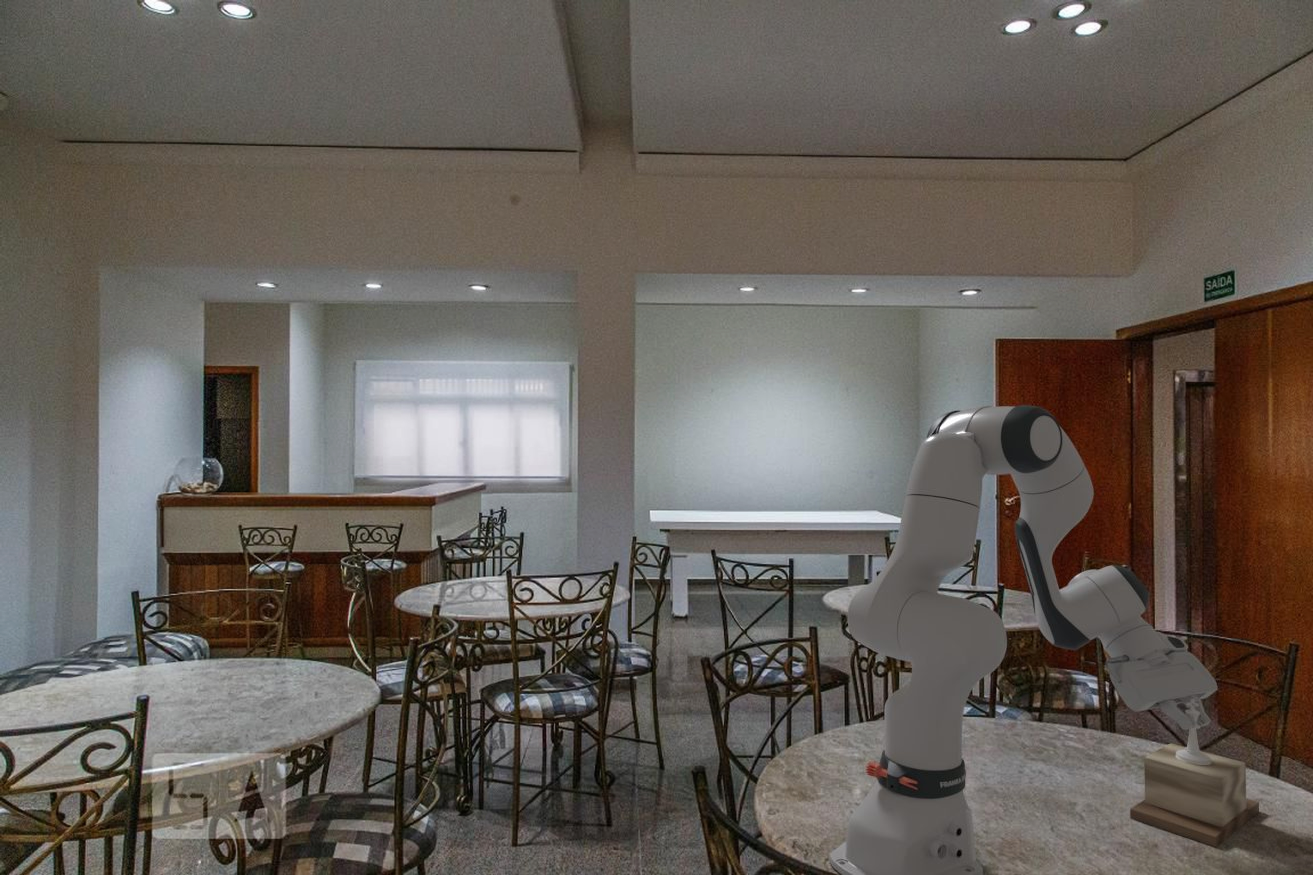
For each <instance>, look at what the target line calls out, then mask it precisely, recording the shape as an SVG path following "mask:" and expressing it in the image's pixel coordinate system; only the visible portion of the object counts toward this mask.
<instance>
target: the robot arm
mask: <svg viewBox="0 0 1313 875" xmlns="http://www.w3.org/2000/svg"><path fill="white" fill-rule="evenodd" d="M985 475H989V476H996V475H997V476H999V475H1000V476H1001V475H1010V476H1011V478H1012V480H1013V482H1014V485H1015V487H1016V489H1017V491H1018V493H1019V497H1020V498H1019V499H1020V512H1019V516H1018V518H1016V519H1017V520H1016V521H1015V522H1014V534H1015V539H1016V543H1017V545H1016V546H1017V548H1018V552H1019V556H1020V560H1021V564H1022V566H1023V569H1024V573H1025V577H1026V581H1027V585H1028V587H1029V591H1030V596H1031V599H1032V606H1033V608H1032V609H1033V613H1034V616H1035V621H1036V623H1037V627H1038V629H1039V631H1040V632H1041V634H1042V635H1043V636H1044V638H1045V639H1046V640H1047V641H1048V642H1049V644H1051V645H1052V646H1054V647H1057V648H1061V649H1064V650H1070V651H1071V650H1072V651H1077V650H1079V649H1080V648H1082V647H1083V646H1085V645H1087V644H1089V643H1090V642H1091V641H1092V640H1094V639H1096V638H1098V639H1099V640H1100V642H1101V644H1102V646H1103V649H1104V651H1105V652H1106V653H1107V655H1108V656H1109V657H1108V658H1106V660H1105V666H1104V668H1105V669H1106V672H1108V674H1109V678H1110V679H1109V680H1110V681H1111V682H1112V685H1113V686H1114V689H1115V690H1116V692H1117V693H1118V695H1119V696H1120V698H1121V699H1122V701H1123V703H1124V704H1125V705H1126V707H1128V708H1129V709H1130V710H1132V712H1136V713H1137V712H1141V711H1148V710H1153V709H1157V708H1160V710H1161V712H1163V714H1165V715H1166V716H1168V717H1169V718H1170V719H1172V720H1173V721H1175V722H1177V724H1178V725H1179V726H1180V728H1181V729H1182V730H1184V731H1187V730H1188V731H1189V729H1191V728H1193V727H1194V726H1196V723H1197V724H1198V725H1200V727H1205V726H1208V725H1209V724H1210V723H1211V721H1212V720H1211V718H1210V717H1209V716H1208V714H1207V713H1206V711H1205V708H1204V705H1203V701H1202V700H1204V699H1207V698H1208V697H1210V696H1211V695H1212V694H1214V693H1216V692H1217V691H1218V685H1217V684H1218V683H1217V681H1216V679H1215V678H1214V677H1213V676H1212V674H1211V673H1210V671H1209V670H1208V669H1207V668H1206V667H1205V665H1204V664H1203V663H1202V662H1201V661H1200V660H1199V659H1198V657H1196V655H1194V654H1193V653H1191V652H1190V651H1188V649H1189V646H1188V644H1187V643H1186V641H1185V640H1184V639H1182V638H1181V637H1176V636H1171V635H1168V634H1165V633H1163V632H1160V631H1156V630H1155V628H1154V627H1153V626H1152V625H1151V624H1150V623H1149V622H1147V621H1146V620H1145V619H1143V617H1142V614H1144V613H1146V611H1147V609H1148V605H1149V604H1150V603H1149V602H1150V597H1151V594H1150V591H1149V590H1148V589H1147V587H1146V586H1145V584H1144V583H1143V582H1142V581H1141V580H1140V579H1139V577H1137V575H1136V574H1135V573H1134V572H1133V571H1132V570H1131V569H1129V568H1127V567H1124V566H1120V565H1116V564H1111V565H1108V566H1104V567H1102V568H1100V569H1088V570H1084V571H1082V572H1080V573H1078V574H1076V575H1075V576H1074V577H1073V578H1071V580H1070V581H1069V582H1068V584H1067V585H1066V586H1064V587H1062V588H1059V584H1058V581H1057V577H1056V573H1055V569H1054V567H1053V566H1054V565H1053V562H1052V561H1053V555H1054V552H1055V550H1056V548H1057V547H1058V545H1059V544H1060V543H1061V541H1063V539H1064V538H1065V537H1066V536H1067V534H1068V533H1069V532H1070V531H1071V530H1072V529H1074V527H1076V526H1077V525H1078V524H1079V523H1080V522H1081V521H1082V520H1083V519H1084V518H1085V516H1086V514H1087V513H1088V512H1089V510H1090V508H1091V505H1092V502H1093V499H1094V494H1095V493H1094V485H1093V483H1092V479H1091V476H1090V474H1089V471H1088V469H1087V467H1086V466H1085V463H1084V461H1083V459H1082V457H1081V456H1080V454H1079V451H1078V450H1077V449H1076V447H1075V445H1074V444H1073V442H1072V441H1071V439H1070V437H1069V436H1068V435H1067V433H1066V432H1065V431H1064V430H1063V428H1062V427H1061V426H1060V424H1059V422H1058V420H1057V419H1056V417H1054V415H1052V413H1050V411H1048V410H1047V409H1045V408H1042V407H1040V406H1036V405H1029V404H1020V405H1016V406H1007V405H1005V406H1004V405H1003V406H990V405H986V406H979V407H978V406H977V407H973V408H967V409H963V410H960V409H959V410H958V409H957V410H952V411H950V412H947V413H944V414H942V415H940V416H938V417H937V418H936V419H935V420H934V421H933V422H932V423H931V425H930V427H929V429H928V431H927V435H926V438H925V439H924V440H923V441H922V443H921V444H920V446H919V448H918V451H917V454H916V455H915V459H914V462H913V465H912V468H911V470H910V474H909V479H908V482H907V487H906V492H905V496H904V504H903V509H902V514H901V518H900V524H899V528H898V533H897V537H896V542H895V544H894V547H893V550H892V552H891V554H890V555H889V557H888V560H887V562H886V563H885V565H884V567H883V568H882V569H881V571H880V572H879V573H878V575H876V577H875V578H874V579H873V580H872V581H871V582H870V583H869V584H866V586H864V587H862V588H860V589H859V590H857V591H856V593H854V595H853V597H852V599H851V601H850V602H849V605H848V608H847V624H848V629H849V632H850V634H851V636H852V638H853V639H854V640H855V641H856V642H858V643H859V644H861V645H863V646H864V647H865V648H868V649H869V650H872V651H874V652H875V653H877V654H879V655H881V656H886V657H890V658H892V659H897V660H900V661H904V662H907V663H910V664H911V668H912V669H911V676H910V680H909V682H908V685H906V686H904V687H902V688H899V689H897V690H895V691H894V692H893V693H892V694H890V695H889V697H888V698H887V700H886V702H885V704H884V749H883V750H882V753H881V756H880V758H879V763H876V762H874V761H869V762H867V765H866V766H865V773H866V775H867V776H869V777H873V778H876V779H877V780H876V782H875V784H874V785H873V786H872V788H871V789H870V790H869V791H868V794H866V796H865V797H864V798H863V800H862V802H861V803H860V804H859V806H858V807H857V808H856V809H855V811H854V812H853V814H852V815H851V817H850V818H849V820H848V823H847V828H846V829H847V830H846V838H845V841H844V842H843V843H841V844H840V845H838V846H837V847H836V848H835V849H834V850H832V851H831V852H830V853H829V856H828V857H829V858H828V861H829V863H830V865H831V866H832V867H833V868H834V869H835V871H836V872H838V873H839V874H841V875H984V869H983V868H984V867H983V866H982V865H981V864H980V862H979V861H978V860H977V854H976V852H977V851H976V843H975V833H974V822H973V815H972V812H971V809H970V807H969V805H968V802H967V799H966V797H965V794H964V789H965V788H966V777H967V771H966V763H965V760H964V759H963V756H962V755H963V751H962V748H963V742H962V741H963V721H964V719H963V718H964V713H965V707H966V703H967V701H968V698H969V696H970V694H971V692H972V690H973V689H974V687H975V686H976V685H977V683H978V682H979V681H980V680H982V679H983V678H984V677H987V676H988V675H990V674H991V673H993V672H994V671H995V670H997V668H998V667H999V666H1000V664H1002V662H1003V660H1004V658H1005V656H1006V652H1007V647H1008V646H1007V645H1008V638H1007V630H1006V627H1005V625H1004V622H1003V621H1002V618H1001V617H1000V615H999V614H998V613H997V612H996V611H995V610H993V609H991V608H989V607H987V606H985V605H982V604H979V603H978V602H974V601H973V600H970V599H967V598H963V597H961V596H960V597H959V596H954V595H953V596H952V595H947V594H942V593H938V590H939V588H940V586H941V583H942V582H943V581H944V579H945V578H946V577H947V576H948V575H949V574H950V573H951V572H953V571H954V570H957V569H959V568H962V567H963V566H965V565H966V564H967V563H968V562H969V561H971V558H972V556H973V555H974V550H975V544H976V537H977V532H978V531H977V530H978V524H979V517H980V510H981V503H982V497H983V496H982V495H983V493H982V492H983V478H984V477H985ZM1190 699H1194V703H1198V704H1199V706H1195V710H1197V711H1199V712H1200V715H1199V717H1198V720H1197V722H1196V723H1195V721H1194V720H1193V719H1192V717H1191V716H1190V715H1186V713H1184V712H1183V710H1181V709H1180V708H1179V707H1178V705H1179V704H1183V705H1184V706H1185V708H1187V709H1190V706H1187V705H1186V702H1187V703H1190Z"/></svg>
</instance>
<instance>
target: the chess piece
mask: <svg viewBox="0 0 1313 875" xmlns="http://www.w3.org/2000/svg"><path fill="white" fill-rule="evenodd" d="M1186 705H1187V706H1190V708H1187V709H1185V714H1186V715H1190V716H1191V717H1192V719H1193V720H1194V721H1195V723H1196V722H1197V720H1198V717H1199V715H1200V712H1199V711H1197V710H1195V706H1199V704H1198V703H1194V699H1190V703H1187V702H1186ZM1201 727H1202V726H1201ZM1201 727H1200V725H1198V724H1197V723H1196V726H1194V727H1193V728H1191V729H1188V739H1187V745H1186V746H1185V747H1186V748H1185V750H1179V751H1177V752H1176V756H1175V757H1176V758H1177V759H1178V760H1180V761H1183V762H1186V763H1189V764H1194V765H1210V764H1211V761H1210V760H1211V759H1210V757H1209V756H1208V755H1206V754H1204V753H1201V751H1202V750H1201V749H1200V747H1199V741H1198V734H1197V730H1199V729H1201Z"/></svg>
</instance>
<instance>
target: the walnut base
mask: <svg viewBox="0 0 1313 875" xmlns="http://www.w3.org/2000/svg"><path fill="white" fill-rule="evenodd" d="M1186 747H1187V746H1183V745H1179V744H1176V743H1171V742H1170V743H1169V744H1167V745H1164V746H1163V747H1161V748H1159V749H1157V750H1156V751H1154V752H1152V753H1150V754H1148V755H1146V756H1145V757H1144V766H1143V768H1144V799H1143V800H1142V801H1140V802H1139V803H1137V804H1136V805H1134V806H1132V807H1130V808H1129V809H1130V810H1129V811H1130V812H1129V815H1130V816H1129V818H1130V819H1132V820H1134V821H1138V822H1141V823H1144V824H1147V825H1150V826H1153V827H1156V828H1158V829H1162V830H1165V831H1167V832H1171V833H1174V834H1176V835H1179V836H1182V837H1185V838H1188V839H1191V840H1194V841H1197V842H1199V843H1202V844H1206V845H1208V846H1211V847H1215V848H1217V847H1218V846H1219V845H1220V844H1221V843H1223V842H1224V841H1225V840H1226V839H1228V838H1229V837H1230V836H1231V835H1232V834H1234V832H1236V831H1237V830H1238V829H1240V828H1241V827H1242V826H1243V825H1244V824H1245V823H1247V822H1248V821H1249V820H1250V819H1252V818H1253V817H1254V816H1255V815H1257V814H1258V813H1259V812H1260V801H1256V800H1252V799H1249V798H1247V780H1246V779H1247V778H1246V777H1247V774H1246V773H1247V772H1246V770H1247V769H1246V762H1244V761H1241V760H1237V759H1234V758H1233V759H1232V758H1230V757H1224V756H1221V755H1219V754H1215V753H1211V752H1207V751H1202V750H1201V753H1204V754H1206V755H1208V756H1209V757H1210V759H1211V760H1210V761H1211V764H1210V765H1194V764H1189V763H1186V762H1183V761H1180V760H1178V759H1177V758H1176V757H1175V756H1176V752H1177V751H1179V750H1185V748H1186ZM1256 813H1257V814H1256Z"/></svg>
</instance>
